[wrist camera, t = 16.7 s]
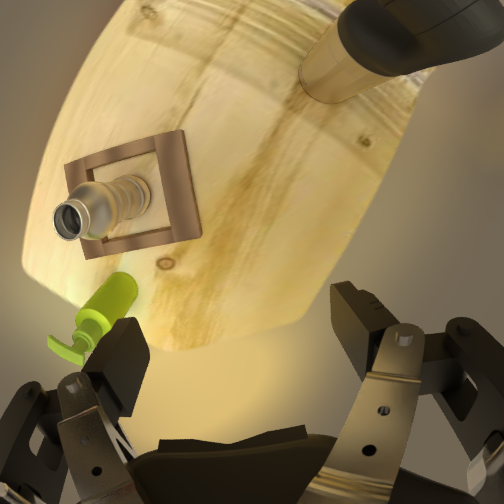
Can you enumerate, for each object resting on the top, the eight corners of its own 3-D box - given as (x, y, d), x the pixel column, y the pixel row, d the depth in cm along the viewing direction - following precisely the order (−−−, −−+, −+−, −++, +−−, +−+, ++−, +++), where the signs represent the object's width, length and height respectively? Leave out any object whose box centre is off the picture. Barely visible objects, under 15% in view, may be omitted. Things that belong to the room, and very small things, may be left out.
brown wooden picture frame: (183, 131, 38) (180, 129, 36) (202, 233, 43) (200, 237, 41) (71, 164, 38) (63, 164, 35) (92, 255, 43) (85, 259, 40)
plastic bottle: (139, 223, 42) (79, 270, 23) (107, 199, 40) (33, 228, 21) (161, 190, 41) (108, 215, 22) (128, 165, 39) (58, 172, 20)
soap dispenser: (106, 264, 44) (45, 325, 25) (141, 279, 45) (96, 351, 26) (100, 292, 45) (46, 359, 26) (133, 307, 46) (92, 383, 27)
